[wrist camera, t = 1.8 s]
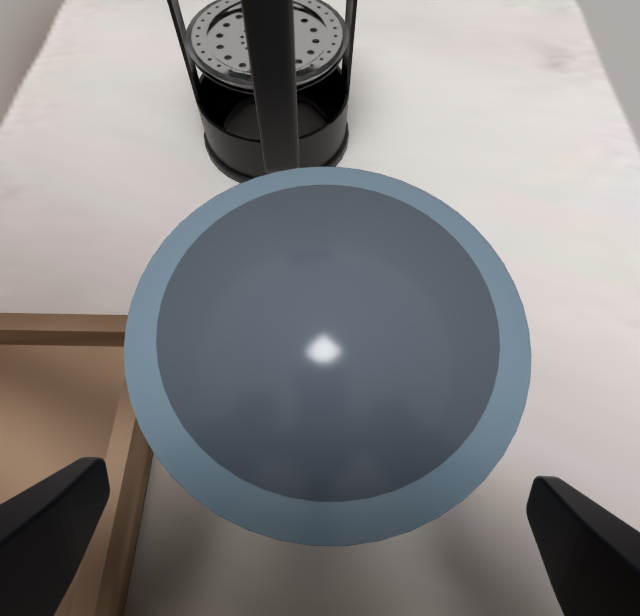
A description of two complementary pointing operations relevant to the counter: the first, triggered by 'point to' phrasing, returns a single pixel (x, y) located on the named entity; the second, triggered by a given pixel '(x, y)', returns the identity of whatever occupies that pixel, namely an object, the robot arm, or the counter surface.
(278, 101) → the french press
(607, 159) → the counter surface
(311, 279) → the cup
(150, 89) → the counter surface
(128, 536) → the tray
